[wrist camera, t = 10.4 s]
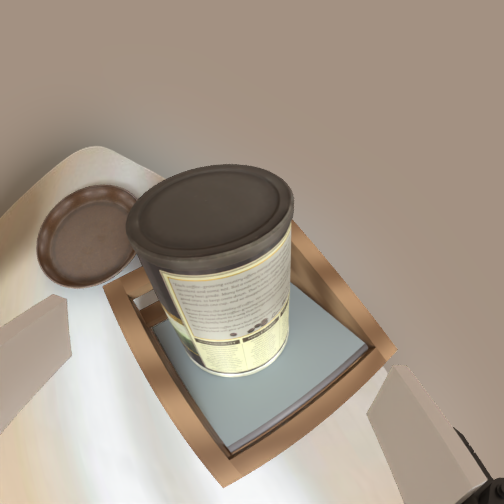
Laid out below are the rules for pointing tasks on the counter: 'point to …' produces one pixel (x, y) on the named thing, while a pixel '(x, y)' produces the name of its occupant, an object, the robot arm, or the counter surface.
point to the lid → (269, 373)
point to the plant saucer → (86, 237)
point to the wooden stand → (293, 426)
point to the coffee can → (220, 262)
